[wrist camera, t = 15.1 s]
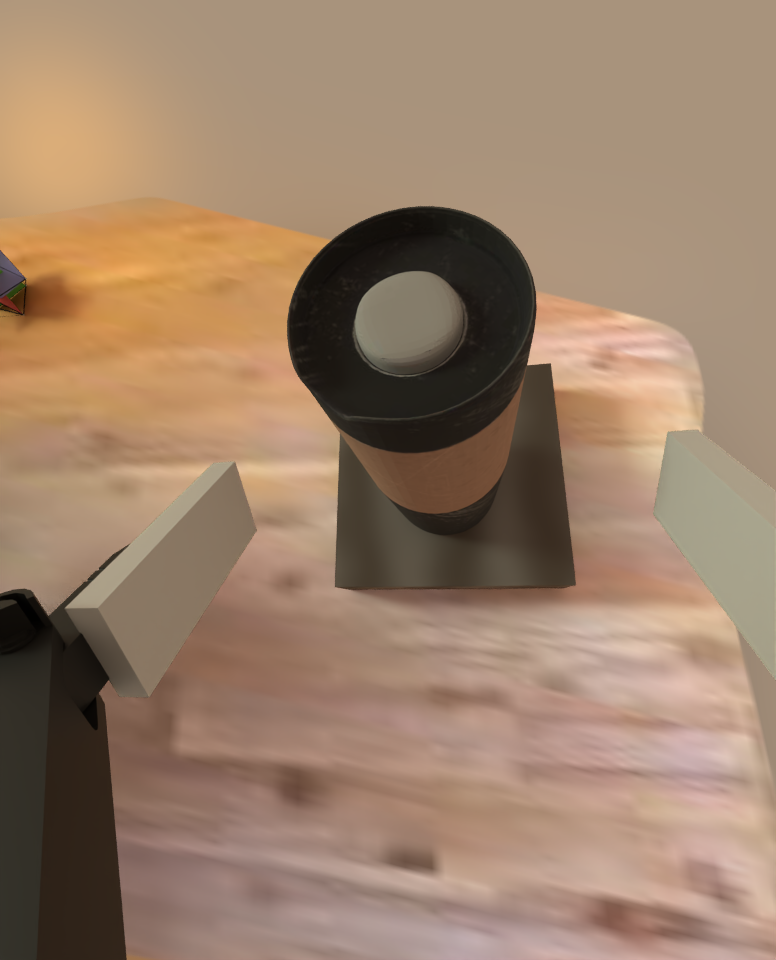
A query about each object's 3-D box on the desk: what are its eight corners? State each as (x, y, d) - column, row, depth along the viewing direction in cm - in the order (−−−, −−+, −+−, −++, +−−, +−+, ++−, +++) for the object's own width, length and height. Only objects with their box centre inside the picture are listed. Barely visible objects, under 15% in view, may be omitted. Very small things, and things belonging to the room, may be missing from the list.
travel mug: (495, 432, 32) (528, 182, 14) (504, 537, 30) (557, 414, 11) (391, 440, 34) (288, 221, 15) (392, 541, 32) (273, 437, 13)
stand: (349, 589, 35) (334, 587, 31) (354, 403, 40) (341, 381, 36) (563, 588, 32) (575, 585, 29) (542, 388, 37) (550, 363, 33)
